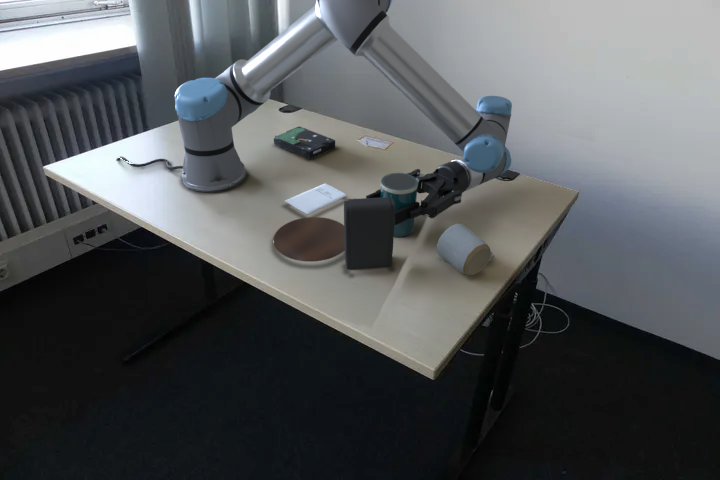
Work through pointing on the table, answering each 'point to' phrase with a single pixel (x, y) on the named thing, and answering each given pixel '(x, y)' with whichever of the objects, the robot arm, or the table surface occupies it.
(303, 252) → the plate
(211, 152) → the robot arm
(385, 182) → the tumbler
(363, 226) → the card reader
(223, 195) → the table surface
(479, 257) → the ceramic mug
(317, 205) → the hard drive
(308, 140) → the disk drive
